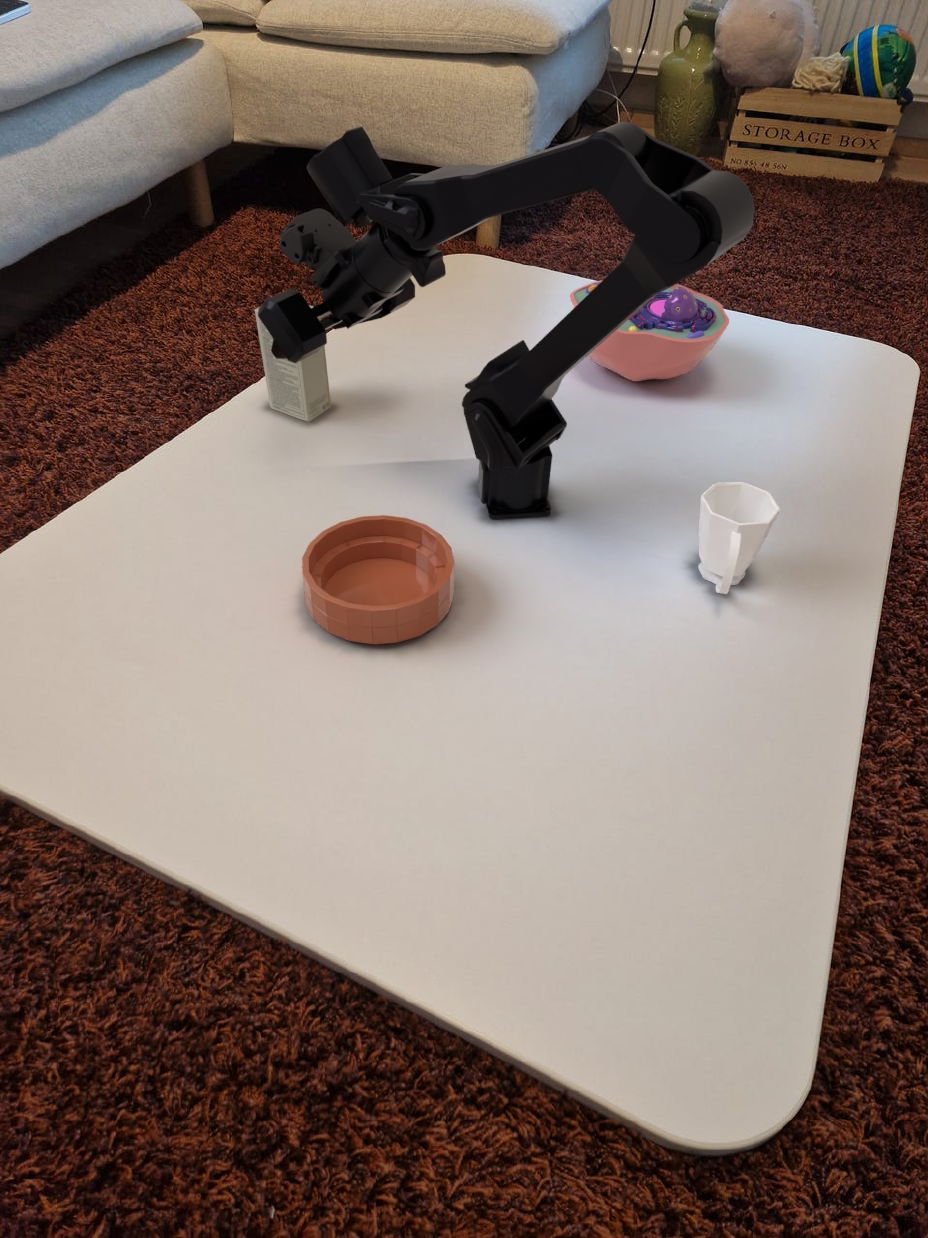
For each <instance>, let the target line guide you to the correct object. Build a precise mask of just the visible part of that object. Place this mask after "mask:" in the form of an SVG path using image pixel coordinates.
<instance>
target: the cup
mask: <svg viewBox="0 0 928 1238" xmlns="http://www.w3.org/2000/svg"><path fill="white" fill-rule="evenodd" d="M772 495H773V494H771V492H770V491H768V490H765V489H763V488H760V487H757V486H755V485H753V484H749V483H746V482H745V481H728V482H727V481H726V482H714V483H713V484H712V485H710V487H709V488H708V489H706V490H705V491H704V493H702V494H701V495H700V506H699V523H698V536H697V537H698V539H697V541H698V555H699V560H700V562H699V564H698V566H697V569H698V570H699V572H700V574H701V576H702V578H703V580H706V581H709V582H711V583H713V584H715V592H716V593H718V594H722V595H727V594H728V593H729V590H730V588H731V586H738V585H739V583H740V582H741V581H742V580H743V579H744V577H746V570H747V569H748V568H749V567H750V566H751V564H752V562H753V561H754V559H755V558H756V556H757V555H758V553H759V552H760V551H761V549H762V546H763V544H764V543H765V541H766V539H767V537H768V534H769V533H770V531H771V529H772V527H773V526H774V523H775V522H776V520H777V518H778V516H779V514H780V512H781V510H782V508H781V507H780V506H779V504H778V502H777V501H776V500H775V498H774V497H773V496H772Z"/></svg>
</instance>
